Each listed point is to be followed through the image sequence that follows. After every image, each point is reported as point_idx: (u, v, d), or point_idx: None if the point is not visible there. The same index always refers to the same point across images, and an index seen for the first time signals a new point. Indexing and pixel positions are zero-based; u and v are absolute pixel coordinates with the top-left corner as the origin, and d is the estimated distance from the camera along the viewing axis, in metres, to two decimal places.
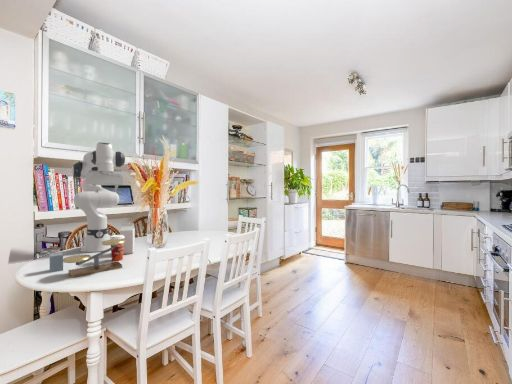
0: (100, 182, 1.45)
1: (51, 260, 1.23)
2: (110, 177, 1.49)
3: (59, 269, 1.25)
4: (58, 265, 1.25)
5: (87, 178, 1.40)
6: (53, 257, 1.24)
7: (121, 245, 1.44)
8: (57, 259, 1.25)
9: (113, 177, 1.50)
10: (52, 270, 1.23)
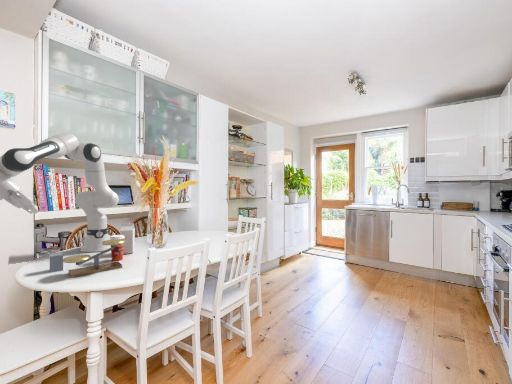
0: (18, 206, 1.16)
1: (51, 260, 1.23)
2: (14, 201, 1.12)
3: (59, 269, 1.25)
4: (58, 265, 1.25)
5: None
6: (53, 257, 1.24)
7: (121, 245, 1.44)
8: (57, 259, 1.25)
9: (16, 201, 1.11)
10: (52, 270, 1.23)
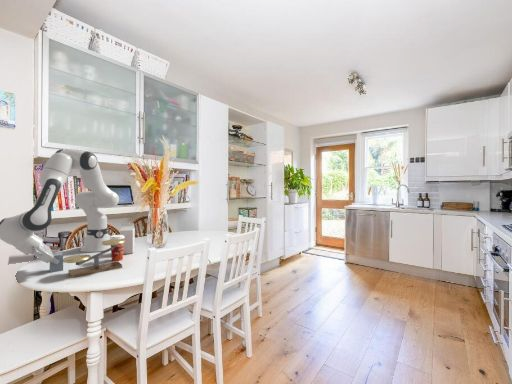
0: None
1: None
2: None
3: (59, 269, 1.25)
4: (58, 265, 1.25)
5: None
6: None
7: (121, 245, 1.44)
8: None
9: None
10: (52, 270, 1.23)
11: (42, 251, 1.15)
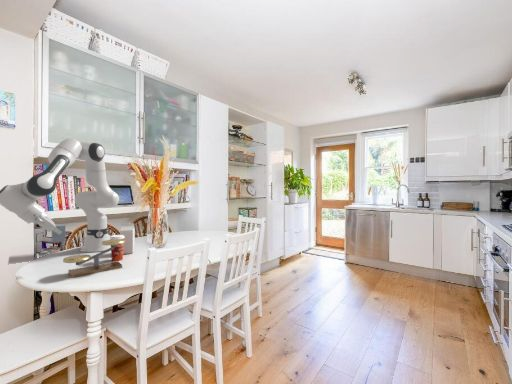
0: None
1: None
2: None
3: (61, 240, 1.24)
4: (60, 236, 1.24)
5: None
6: None
7: (121, 245, 1.44)
8: (59, 229, 1.24)
9: None
10: (54, 240, 1.22)
11: (44, 219, 1.14)
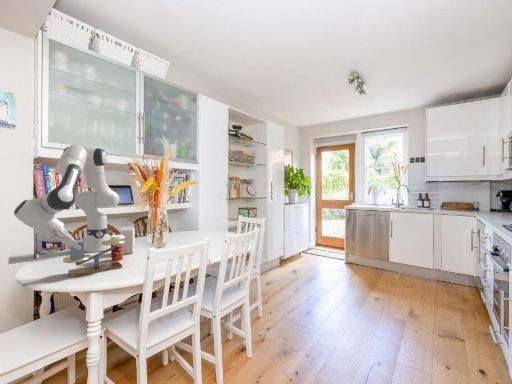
0: None
1: (72, 247, 1.18)
2: None
3: (80, 256, 1.20)
4: (79, 252, 1.20)
5: None
6: None
7: (121, 245, 1.44)
8: None
9: None
10: (73, 257, 1.19)
11: (64, 234, 1.10)
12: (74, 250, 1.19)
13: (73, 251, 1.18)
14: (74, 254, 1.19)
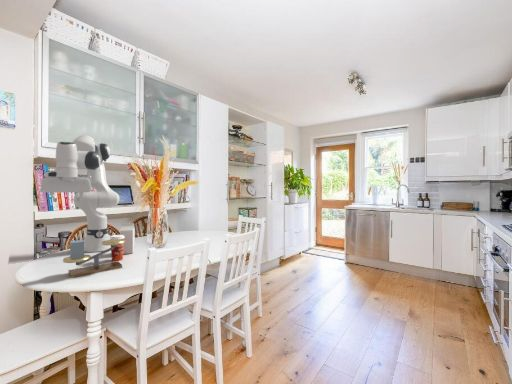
0: (59, 190, 1.22)
1: (72, 247, 1.18)
2: (73, 184, 1.25)
3: (80, 256, 1.20)
4: (79, 252, 1.20)
5: (42, 185, 1.17)
6: (74, 244, 1.19)
7: (121, 245, 1.44)
8: (78, 246, 1.20)
9: (77, 184, 1.27)
10: (73, 257, 1.19)
11: None
12: (74, 250, 1.19)
13: (73, 251, 1.18)
14: (74, 254, 1.19)
